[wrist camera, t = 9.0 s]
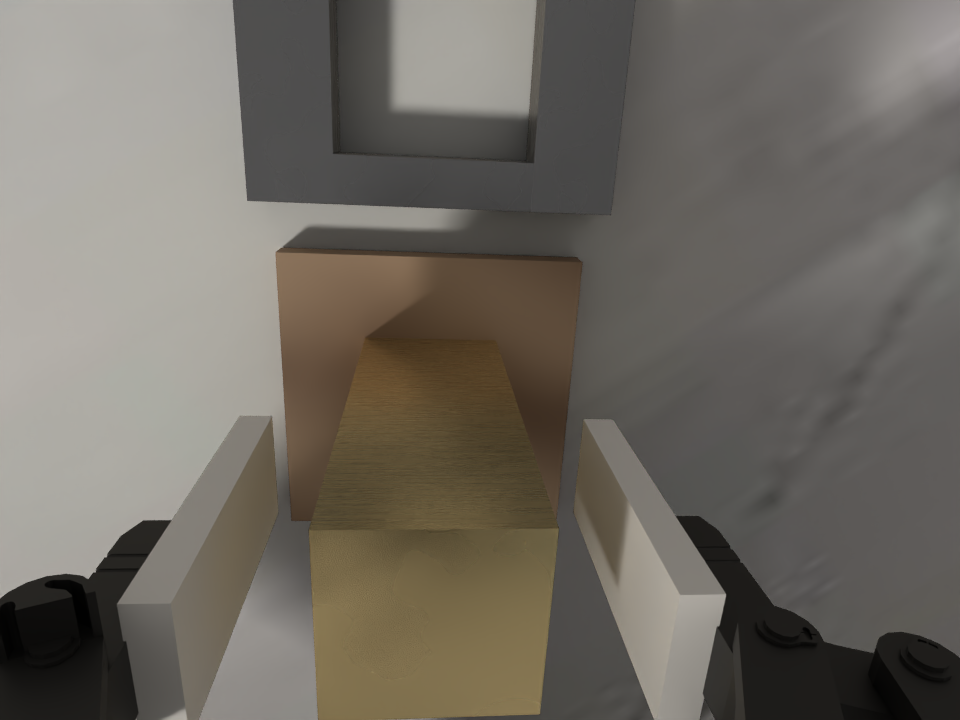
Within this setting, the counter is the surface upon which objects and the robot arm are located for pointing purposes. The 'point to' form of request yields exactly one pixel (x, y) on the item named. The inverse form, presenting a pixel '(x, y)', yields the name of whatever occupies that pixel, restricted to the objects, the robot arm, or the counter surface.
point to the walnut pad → (420, 315)
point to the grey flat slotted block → (424, 179)
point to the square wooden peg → (431, 541)
